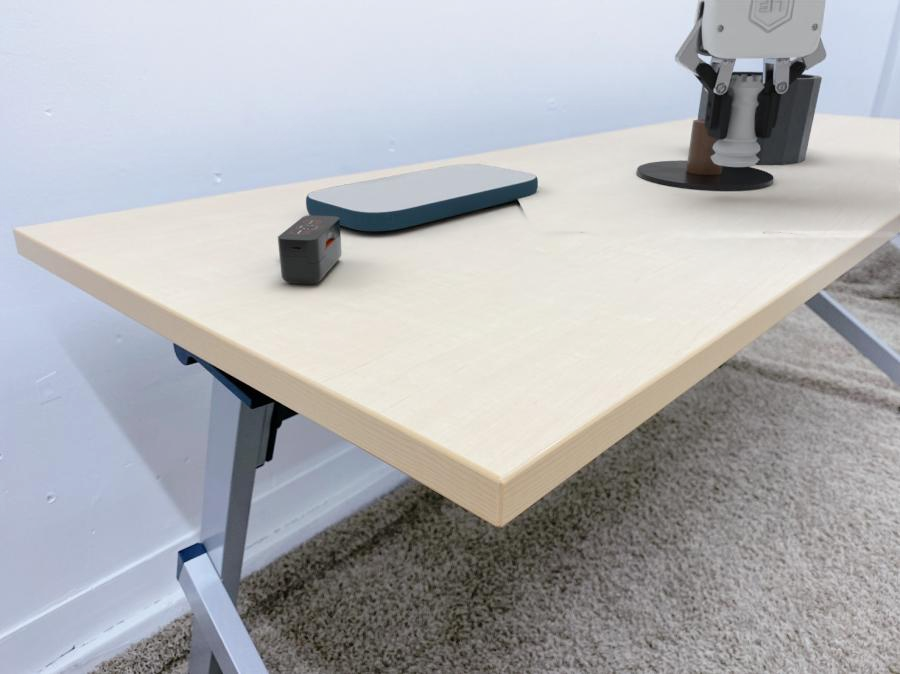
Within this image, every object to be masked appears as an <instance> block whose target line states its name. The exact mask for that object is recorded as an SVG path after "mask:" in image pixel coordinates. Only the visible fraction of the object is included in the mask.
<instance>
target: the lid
mask: <svg viewBox="0 0 900 674" xmlns="http://www.w3.org/2000/svg"><path fill="white" fill-rule="evenodd" d="M707 131H708V129H706V128H705V119H699V120H698V119H694V120H692V126H691V133H690V141H689V147H688V148H689V149H688V155H687V160H661V161H660V160H659V161H652V162H646V163H643V164H641V165H639V166H638V167H637V168H636V176H638V177H639V178H641V179H643V180H646V181H649V182H651V183H656V184H659V185H664V186H669V187H675V188H682V189H691V190H703V191H728V192H729V191H749V190H757V189H758V190H759V189H763V188H766V187H769V186H771V185H772V184H773V183H774V178H775V177H774V176H773V174H772V173H770V172H768V171H766V170H763V169H759V168H755V167H753V166H750V167H728V166H721V165H717V164H714V163H713V161H712V159H711V156H712V155H714V154H715V151H714V150H713V145H714V143H716V142H717V141H718V140H717V139H715V138H713V137H710V136H708V134H707Z"/></svg>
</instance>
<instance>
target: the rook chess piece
mask: <svg viewBox="0 0 900 674" xmlns="http://www.w3.org/2000/svg"><path fill="white" fill-rule="evenodd" d="M761 79H762V76H761V75H758V76H757V75H751V76H747V74H745V75H742V76H739V75H733V76H732V81H731V82H730V83H729V86H728V88H729V89H728V90H729V91H730V93H731V96H732V104H731V111H730V118H729V125H728V132H727V137H726V138H725V139H724V140H718V141H717V142H716V143H714V145H713V150H714V151H715V154H714V155H712V156H711V159H712V161H713V163H714V164H717V165H721V166H728V167H754V166H756V165H755V164H756V163H757V162H758V161H759V160H760V159H759V158H758V157H757V156H756V154H757V153H758V152H759V151H760V145H759V144H758V143H757V141H756V140H757V137H756V135H755V113H756V107H757V106H758V105H759V103H758V101H757V97H758V94H759V93H760V92H761V91H762V90H763V88H764V85H763V83H762V82H761Z"/></svg>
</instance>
